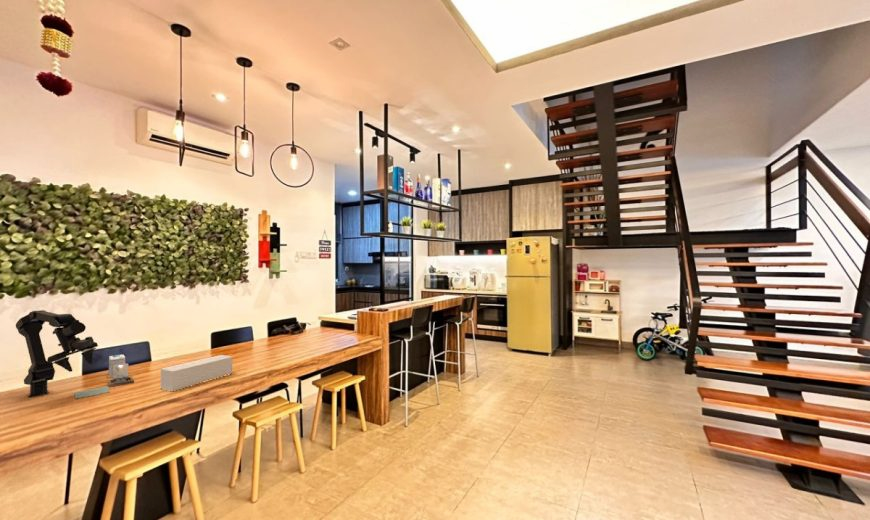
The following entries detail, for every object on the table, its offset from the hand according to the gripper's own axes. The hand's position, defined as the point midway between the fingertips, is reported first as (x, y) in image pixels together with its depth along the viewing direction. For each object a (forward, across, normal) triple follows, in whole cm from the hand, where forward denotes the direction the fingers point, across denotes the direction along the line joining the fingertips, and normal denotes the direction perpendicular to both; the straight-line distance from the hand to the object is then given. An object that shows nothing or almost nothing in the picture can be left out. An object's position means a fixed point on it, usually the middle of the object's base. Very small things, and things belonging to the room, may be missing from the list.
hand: (81, 367), depth 170 cm
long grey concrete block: (+31, +22, -33) cm, 50 cm away
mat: (+14, +4, +5) cm, 15 cm away
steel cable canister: (+16, +18, +5) cm, 25 cm away
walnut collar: (+16, +18, +5) cm, 25 cm away
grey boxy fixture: (+11, +33, +21) cm, 41 cm away
